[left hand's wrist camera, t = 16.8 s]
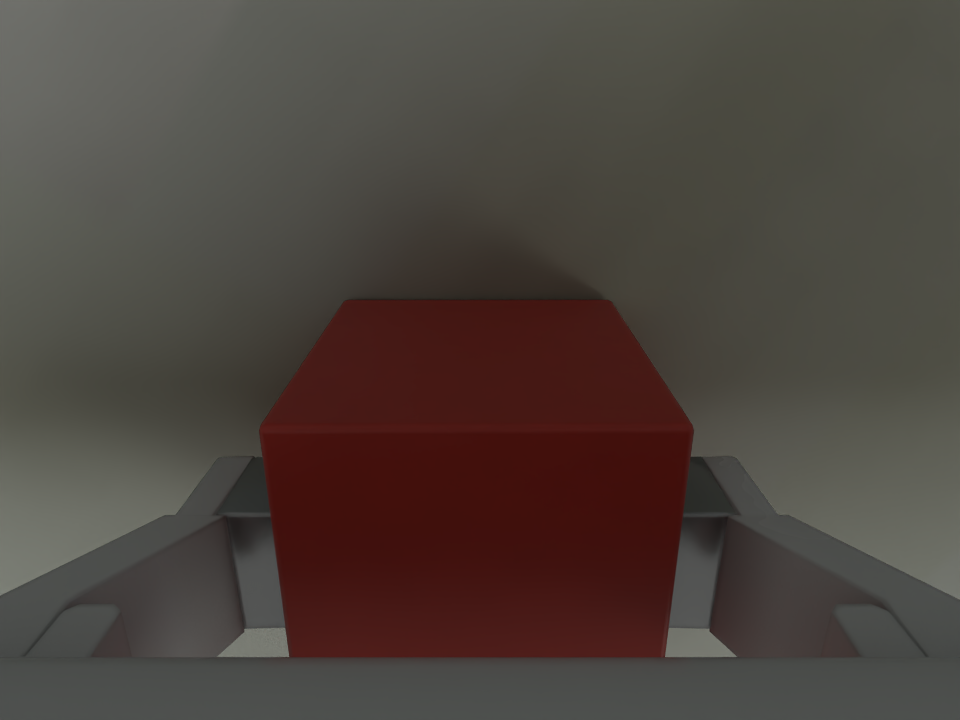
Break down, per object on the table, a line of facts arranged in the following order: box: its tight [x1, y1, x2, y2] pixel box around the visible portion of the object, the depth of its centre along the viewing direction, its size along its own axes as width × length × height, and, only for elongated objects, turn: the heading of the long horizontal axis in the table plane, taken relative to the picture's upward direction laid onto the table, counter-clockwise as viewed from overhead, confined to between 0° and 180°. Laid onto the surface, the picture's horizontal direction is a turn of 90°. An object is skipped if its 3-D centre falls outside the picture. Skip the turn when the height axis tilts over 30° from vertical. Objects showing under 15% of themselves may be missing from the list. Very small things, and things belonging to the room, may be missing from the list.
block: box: [259, 300, 694, 657], centre depth 10 cm, size 5×5×5 cm
